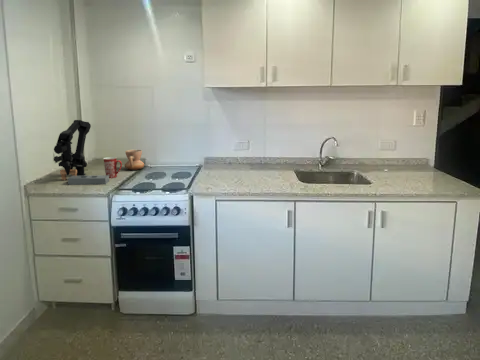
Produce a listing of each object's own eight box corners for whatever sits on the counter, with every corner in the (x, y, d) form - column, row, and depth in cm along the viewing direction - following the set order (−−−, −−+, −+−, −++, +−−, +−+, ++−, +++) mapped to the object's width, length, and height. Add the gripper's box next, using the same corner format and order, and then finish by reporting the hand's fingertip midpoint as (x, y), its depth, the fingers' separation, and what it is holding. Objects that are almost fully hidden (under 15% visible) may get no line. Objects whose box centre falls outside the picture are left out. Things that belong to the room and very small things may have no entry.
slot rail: (72, 181, 296) (72, 175, 295) (109, 181, 297) (108, 175, 296) (68, 184, 288) (67, 178, 287) (105, 184, 288) (105, 178, 287)
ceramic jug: (128, 166, 345) (127, 148, 342) (147, 167, 344) (146, 148, 341) (120, 171, 328) (119, 152, 325) (140, 171, 327) (139, 152, 323)
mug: (102, 178, 306) (100, 158, 303) (108, 175, 315) (107, 156, 312) (119, 178, 304) (118, 159, 301) (125, 176, 313) (123, 157, 310)
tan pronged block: (62, 178, 303) (61, 169, 302) (77, 178, 303) (76, 169, 302) (60, 180, 300) (60, 170, 298) (76, 179, 300) (75, 170, 298)
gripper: (59, 149, 306) (61, 171, 309) (49, 153, 288) (51, 177, 291) (76, 149, 306) (77, 171, 310) (66, 153, 288) (68, 177, 292)
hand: (68, 174), depth 301 cm, fingers closed on tan pronged block, 3 cm apart
